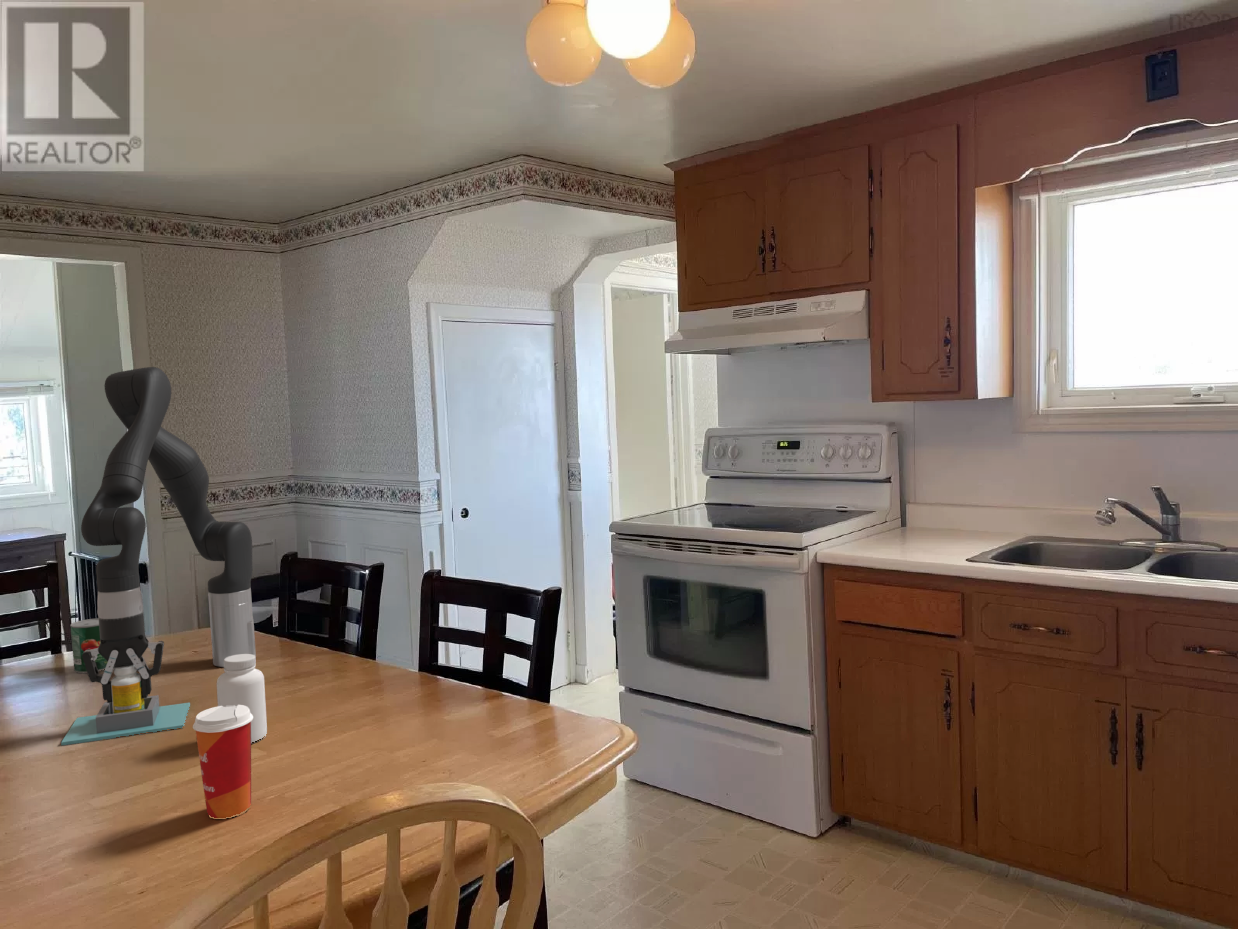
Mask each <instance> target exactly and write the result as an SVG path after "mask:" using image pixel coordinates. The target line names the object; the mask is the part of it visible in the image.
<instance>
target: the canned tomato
mask: <svg viewBox="0 0 1238 929" xmlns="http://www.w3.org/2000/svg"><path fill="white" fill-rule="evenodd" d="M69 627H70V635H71V647H72V658H73V659H72V660H73V669H74V670H73V671H75V672H74V673H76V672H78V673H77V674H87V673H86V672H87V670H86V667H85V663H84V660H83V657H82V654H83V653H84V652H85V651H86V650H87V649H90V650H92V649H95V648H98V647H99V645H100V630H99V618H98V617H97V618H89V619H83V620H79V621H75V622H73V623H71V624H70V626H69ZM95 663H96V666H97V669H98V672H101V671H100V670H102V671H104V670H103V669H105V668H106V665H107V663H108V661H107V660H106V659H105V658H104V657H103V656H101V655H100V654H99V653H98V654H97V659H96V660H95Z"/></svg>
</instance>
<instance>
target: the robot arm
mask: <svg viewBox="0 0 1238 929" xmlns="http://www.w3.org/2000/svg"><path fill="white" fill-rule="evenodd" d="M103 386H104V392H105V396H106V399H107V401H108V404H109V406H110V407H111V409H112V411H113V412H114V414H115V415H116V416H117V417H118V419H119V420H120V421H121V423H122V424H123V425H124V426H125V428H126V430H127V431H126V432H125V433H124V434H123V435H122V437H121V438H120V439H119V441H118V442H117V443H116V444H115V445H114V447H113V448H112V450H111V451H110V453H109V455H108V457H107V459H106V462H105V467H104V470H103V476H102V480H101V485H100V487H99V489H98V490H97V492H96V494H95V496H94V498H93V500H92V501H91V502H90V504H89V506H88V507H87V510H85V513H84V515H83V518H82V520H81V524H80V533H81V536H82V538H83V539H84V541H85V542H86V543H87V544H88V545H91V546H94V547H104V546H107V547H109V546H121V549H120V552H119V554H118V555H115V556H111V557H107V558H103V559H100V560H99V561H98V562H97V564H96V568H95V571H96V572H95V573H96V584H97V585H96V587H97V602H96V603H97V612H96V613H97V616H98V617H97V618H99V630H100V645H99V647H98V648H95V649H92V650H90V649H87V650H86V651H85V652H84V653H83V654H82V657H83V660H84V663H85V667H86V670H87V673H86V674H87V676H88V679H89V682H91V683H99V684H101V689H102V699H103V701H106V702H107V703H112V694H111V676H112V674H113V673H114V667H119V666H122V665H134V666H135V667H136V669H137V670H138V671H137V672H139V674H140V675H141V676H142V680H141V682H142V695H143V698H147V697H148V696H149V695H150V694H151V693H152V691H153V690H152V679H151V678H152V677H153V676H155V675H158V674H159V673H160V671H161V669H162V668H161V667H162V661H163V654H164V648H165V642H164V641H163V640H158V641H149V640H148V638H147V636H146V630H145V629H146V628H145V617H144V615H145V614H144V602H143V596H142V595H143V594H142V591H141V583H140V573H139V572H140V571H139V567H140V566H139V564H140V557H141V556H140V555H141V550H142V544H143V541H144V537H145V533H146V527H147V526H146V525H147V523H146V518H145V516H144V514H143V512H142V511H141V510H140V509H138V508H136V507H131V506H128V507H127V506H126V505H130V504H133V503H135V502H137V501H138V500H139V499H140V498H141V496H142V492H143V488H144V482H145V476H146V472H147V466H148V461H149V463H150V465H151V466H152V468H153V470H154V472H155V474H156V476H157V478H158V479H159V481H160V483H161V484H162V486H163V487H164V489H165V490H166V492H167V493H168V495H169V496H170V498H171V500H172V502H173V503H174V505H175V507H176V509H177V511H178V512H179V514H180V516H181V518H182V520H183V522H184V524H185V526H186V528H187V531H188V532H189V535H190V538H191V540H192V542H193V544H194V546H195V549H196V550H197V552H198V553H199V555H200V556H201V557H202V558H203V559H205V560H207V561H211V562H224V568H223V572H221V574H218V575H215V576H212V577H211V578H210V579H209V580H208V581H207V592H208V593H207V595H208V596H207V597H208V607H209V608H208V609H209V610H208V611H209V622H210V623H209V624H210V638H211V650H212V651H211V652H212V664H213V665H214V666H216V667H221V668H224V659H225V658H227V657H229V656H233V655H238V654H252V655H254V656H255V657H256V656H257V654H256V639H255V625H254V624H255V623H254V617H253V616H254V615H253V603H252V589H251V587H252V586H251V581H252V577H253V538H252V533H251V530H250V528H249V526H248V525H247V524H246V523H244V522H241V521H218V520H217V519H216V518H215V517H214V516H213V514H212V513H211V511H210V509H209V507H208V504H207V497H208V492H209V487H210V486H209V485H210V477H209V473H208V470H207V469H206V467H205V465H204V463H203V462H202V460H201V457H200V456H199V454H198V452H197V451H196V450H195V449H194V448H193V447H192V446H191V445H190V444H188V442H185V441H184V440H183V439H181V438H179V436H176V435H175V434H173V433H172V432H170V431H168V430H167V429H165V428H164V427H163V426H162V424H163V422H164V420H165V417H166V414H167V412H168V409H169V406H170V403H171V399H172V384H171V381H170V378H169V377H168V375H167V374H166V373H165V371H163V370H162V369H161V368H159V367H155V366H148V367H146V366H145V367H140V368H134V369H127V370H123V371H117V372H114V373H111V374H109V375H108V376H107V377H106V379H105V381H104V385H103ZM123 506H125V507H123ZM147 649H150V652H151V654H153V655H154V656H153V662H152V667H150V668H149V666H148V665H147V662H146V660H145V658H144V656H143V655H144V653H145V652H146V650H147ZM98 653H99V654H100V655H101V656H103V657H104V658H105V659H106V660H107V661H108V663H107V665H106V668H105V670H103V674H102V673H100V671H98V669H97V666H96V663H95V660H96V659H97V654H98ZM256 658H257V657H256Z"/></svg>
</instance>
